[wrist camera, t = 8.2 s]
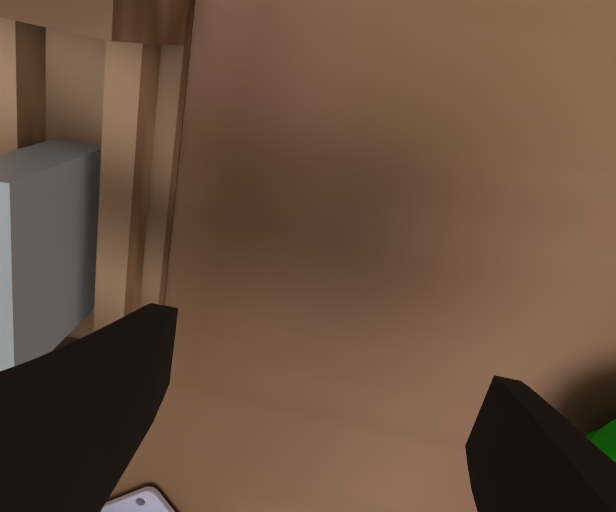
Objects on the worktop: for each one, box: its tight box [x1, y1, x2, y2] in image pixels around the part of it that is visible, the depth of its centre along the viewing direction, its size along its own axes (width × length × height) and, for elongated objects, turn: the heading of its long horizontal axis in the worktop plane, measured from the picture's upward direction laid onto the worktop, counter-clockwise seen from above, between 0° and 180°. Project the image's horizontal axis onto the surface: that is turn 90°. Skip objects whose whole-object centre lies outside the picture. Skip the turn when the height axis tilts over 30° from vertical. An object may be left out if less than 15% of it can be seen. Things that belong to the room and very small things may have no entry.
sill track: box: [0, 0, 195, 351], centre depth 18 cm, size 16×7×7 cm, turn 169°
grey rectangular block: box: [0, 137, 101, 371], centre depth 18 cm, size 7×2×6 cm, turn 169°
